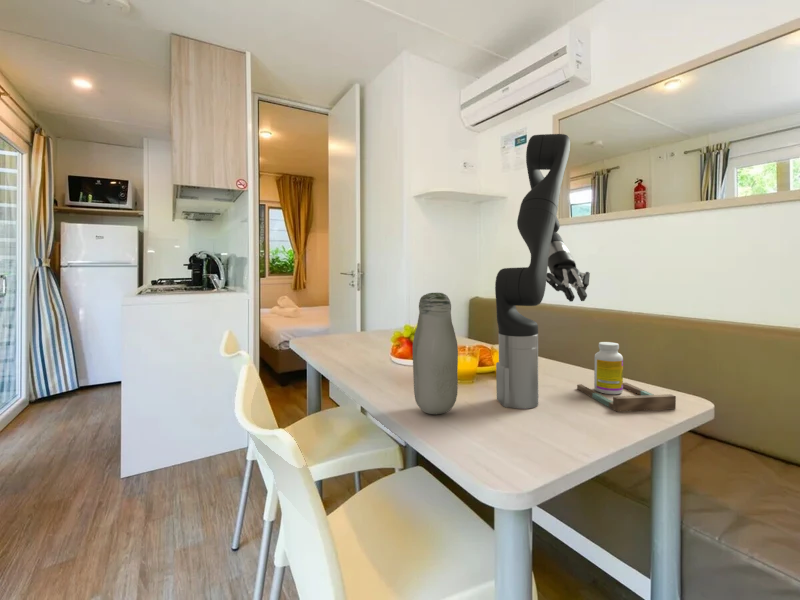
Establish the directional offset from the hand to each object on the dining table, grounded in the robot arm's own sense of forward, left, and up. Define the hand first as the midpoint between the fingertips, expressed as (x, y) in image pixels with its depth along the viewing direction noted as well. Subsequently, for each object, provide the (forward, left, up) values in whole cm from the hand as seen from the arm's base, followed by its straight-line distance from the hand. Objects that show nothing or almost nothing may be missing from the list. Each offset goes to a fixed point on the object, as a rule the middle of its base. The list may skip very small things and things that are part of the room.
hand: (578, 299), depth 109 cm
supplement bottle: (+3, -10, -24) cm, 26 cm away
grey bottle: (-44, -20, -24) cm, 54 cm away
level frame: (+3, -16, -24) cm, 29 cm away
